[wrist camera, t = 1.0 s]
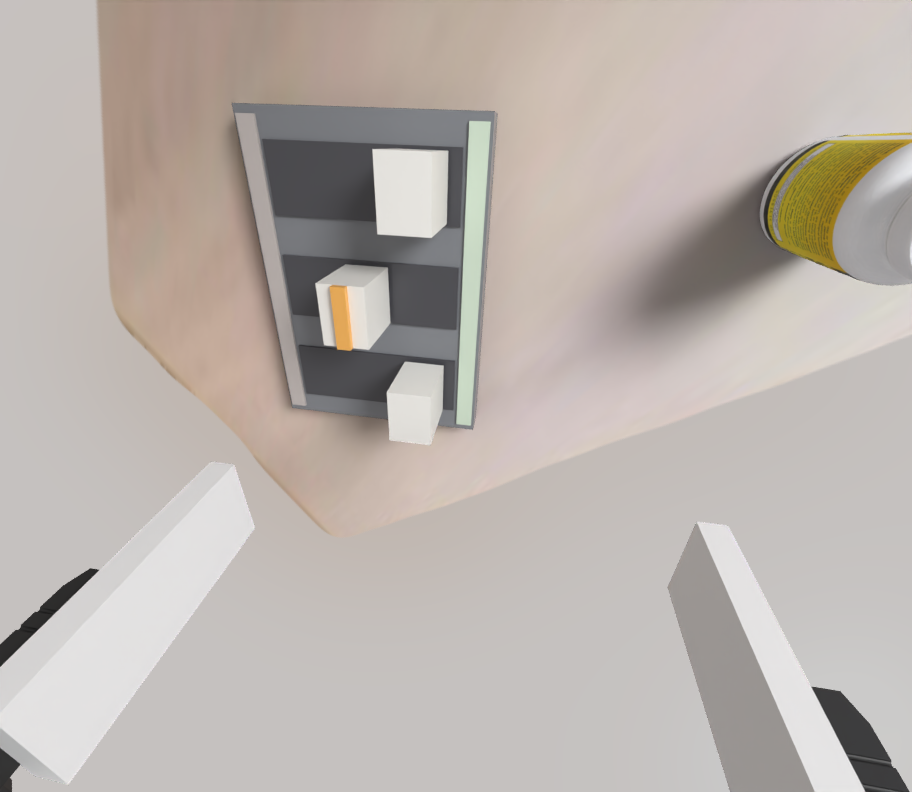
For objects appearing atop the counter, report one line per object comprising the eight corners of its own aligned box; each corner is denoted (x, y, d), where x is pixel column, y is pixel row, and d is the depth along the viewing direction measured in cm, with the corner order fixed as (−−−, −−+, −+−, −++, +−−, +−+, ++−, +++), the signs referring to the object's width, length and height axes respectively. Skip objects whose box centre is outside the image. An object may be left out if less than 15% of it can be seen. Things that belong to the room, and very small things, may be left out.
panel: (250, 105, 27) (229, 102, 25) (497, 113, 25) (494, 111, 23) (303, 396, 38) (291, 409, 37) (475, 416, 37) (472, 431, 35)
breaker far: (405, 361, 32) (386, 392, 28) (443, 365, 32) (430, 397, 28) (406, 405, 34) (389, 440, 30) (442, 409, 34) (430, 445, 30)
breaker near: (398, 148, 25) (372, 149, 21) (448, 150, 24) (431, 151, 20) (400, 221, 27) (377, 234, 23) (446, 224, 26) (431, 237, 22)
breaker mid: (345, 264, 29) (312, 285, 24) (387, 267, 28) (361, 289, 24) (351, 319, 31) (321, 347, 27) (390, 323, 31) (366, 352, 26)
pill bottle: (755, 263, 27) (872, 324, 18) (755, 159, 24) (893, 167, 15) (873, 232, 25) (1072, 284, 16) (886, 116, 23) (1137, 96, 13)
